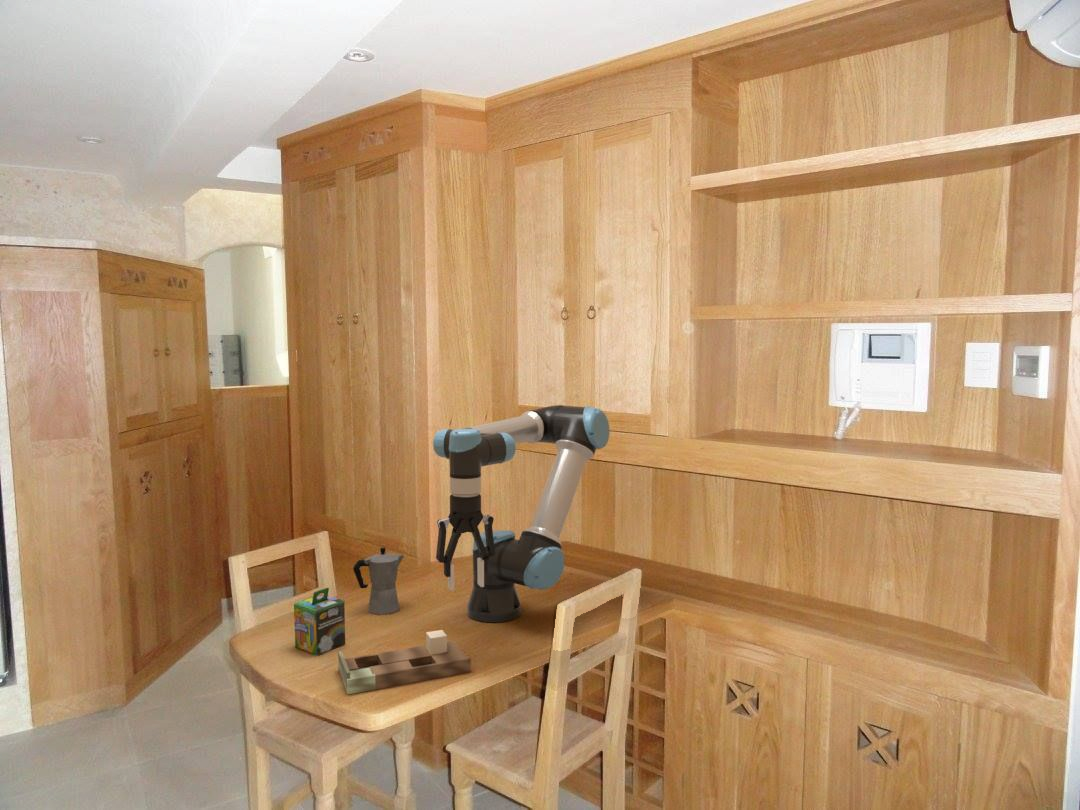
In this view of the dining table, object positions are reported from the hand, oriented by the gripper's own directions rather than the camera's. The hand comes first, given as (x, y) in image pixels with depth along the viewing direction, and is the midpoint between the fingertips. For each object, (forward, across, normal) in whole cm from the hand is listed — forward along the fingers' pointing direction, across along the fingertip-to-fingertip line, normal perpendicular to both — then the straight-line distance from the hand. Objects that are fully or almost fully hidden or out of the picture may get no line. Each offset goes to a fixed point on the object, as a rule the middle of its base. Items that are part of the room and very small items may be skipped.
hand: (466, 587), depth 181 cm
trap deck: (+17, +16, +3) cm, 24 cm away
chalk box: (+17, +32, -20) cm, 42 cm away
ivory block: (+15, +8, 0) cm, 16 cm away
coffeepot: (+17, +13, -39) cm, 45 cm away
